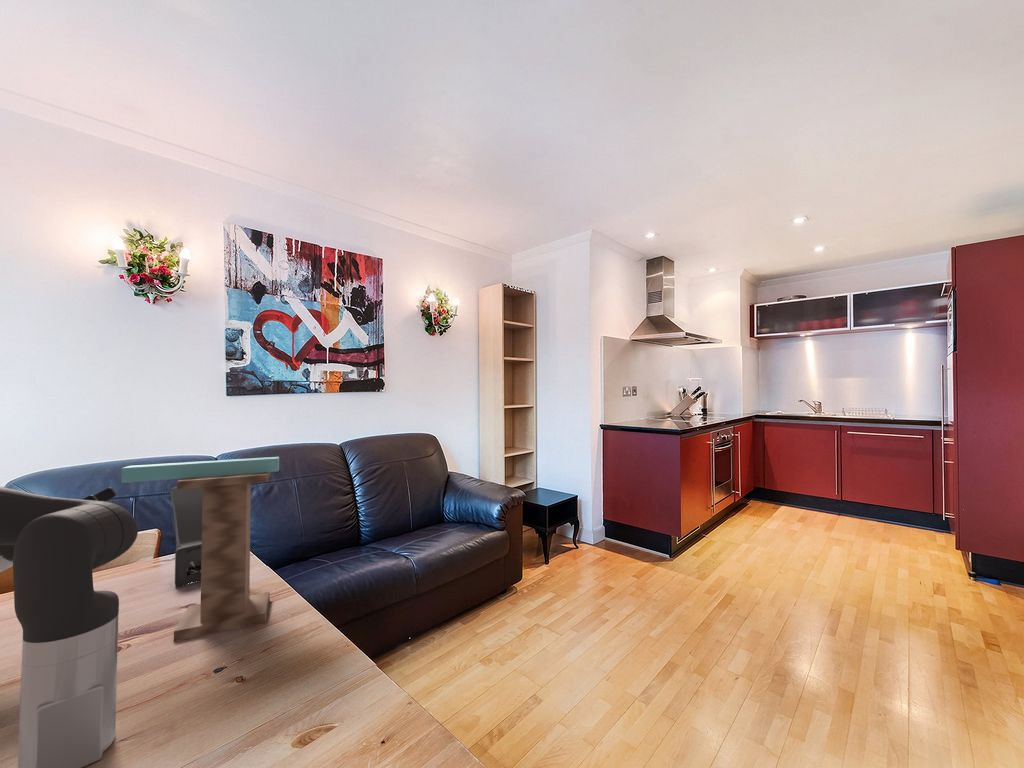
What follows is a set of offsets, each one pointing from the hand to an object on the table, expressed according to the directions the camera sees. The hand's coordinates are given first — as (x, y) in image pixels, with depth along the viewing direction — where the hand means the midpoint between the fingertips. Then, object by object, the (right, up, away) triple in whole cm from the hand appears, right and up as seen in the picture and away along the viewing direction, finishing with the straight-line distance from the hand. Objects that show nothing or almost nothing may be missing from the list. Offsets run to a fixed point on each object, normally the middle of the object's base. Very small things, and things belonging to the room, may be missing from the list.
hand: (105, 494), depth 87 cm
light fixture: (-8, -32, +34) cm, 47 cm away
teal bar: (+15, +2, +8) cm, 17 cm away
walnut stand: (+19, -30, +8) cm, 36 cm away
